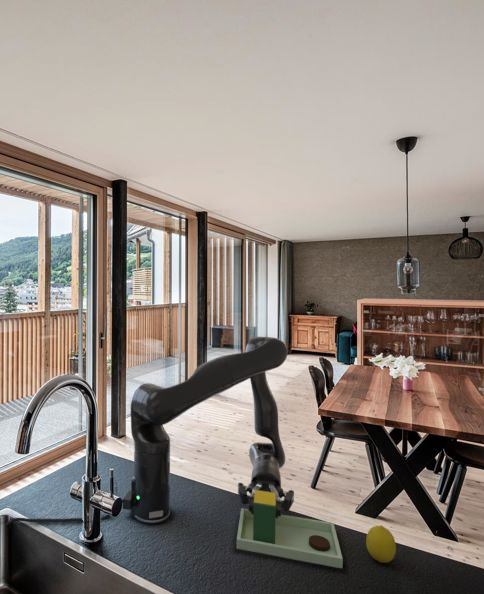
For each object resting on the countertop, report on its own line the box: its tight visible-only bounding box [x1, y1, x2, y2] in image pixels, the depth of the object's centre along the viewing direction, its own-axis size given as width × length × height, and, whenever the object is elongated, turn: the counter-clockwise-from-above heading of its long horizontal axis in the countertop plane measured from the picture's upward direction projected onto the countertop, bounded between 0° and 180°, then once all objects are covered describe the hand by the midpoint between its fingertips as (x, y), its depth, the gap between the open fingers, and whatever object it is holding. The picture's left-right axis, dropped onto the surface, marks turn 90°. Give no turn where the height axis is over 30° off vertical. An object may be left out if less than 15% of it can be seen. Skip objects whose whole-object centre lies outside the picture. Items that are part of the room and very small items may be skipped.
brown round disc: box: [309, 535, 330, 552], centre depth 93 cm, size 4×4×1 cm
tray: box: [236, 507, 344, 569], centre depth 95 cm, size 22×14×3 cm, turn 73°
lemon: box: [365, 525, 397, 564], centre depth 88 cm, size 6×6×8 cm
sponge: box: [253, 490, 276, 544], centre depth 96 cm, size 5×7×9 cm
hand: (264, 512), depth 93 cm, fingers closed on sponge, 4 cm apart
